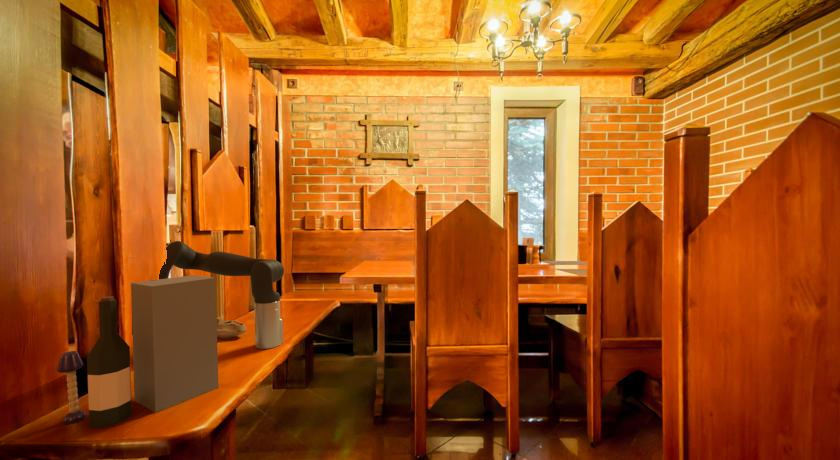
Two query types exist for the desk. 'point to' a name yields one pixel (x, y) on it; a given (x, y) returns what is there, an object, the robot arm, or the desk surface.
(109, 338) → the wine bottle
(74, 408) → the toy lamp
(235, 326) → the oil lamp
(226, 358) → the desk surface
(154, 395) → the stand
